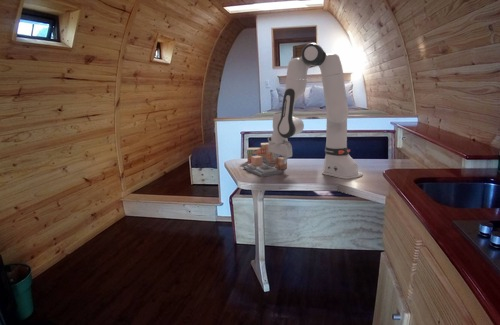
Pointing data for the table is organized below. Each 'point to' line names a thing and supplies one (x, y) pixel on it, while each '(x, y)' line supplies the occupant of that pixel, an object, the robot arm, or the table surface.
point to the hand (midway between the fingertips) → (279, 161)
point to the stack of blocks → (261, 153)
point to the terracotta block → (280, 163)
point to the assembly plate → (261, 167)
